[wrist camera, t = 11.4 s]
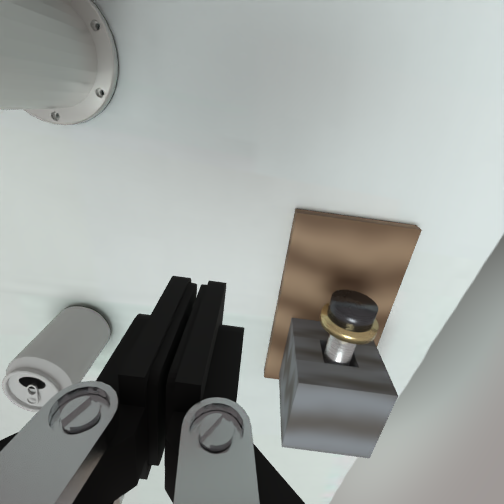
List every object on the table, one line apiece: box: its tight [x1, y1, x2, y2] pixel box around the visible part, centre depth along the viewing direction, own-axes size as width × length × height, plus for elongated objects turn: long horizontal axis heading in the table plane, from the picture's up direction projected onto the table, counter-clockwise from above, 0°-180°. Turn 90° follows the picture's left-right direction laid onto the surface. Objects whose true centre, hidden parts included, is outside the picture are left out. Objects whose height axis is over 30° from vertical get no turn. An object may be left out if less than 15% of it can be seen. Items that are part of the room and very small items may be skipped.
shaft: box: [320, 290, 379, 366], centre depth 37 cm, size 19×6×6 cm, turn 173°
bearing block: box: [264, 209, 421, 458], centre depth 36 cm, size 25×14×12 cm, turn 173°
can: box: [2, 306, 110, 412], centre depth 40 cm, size 8×8×12 cm
